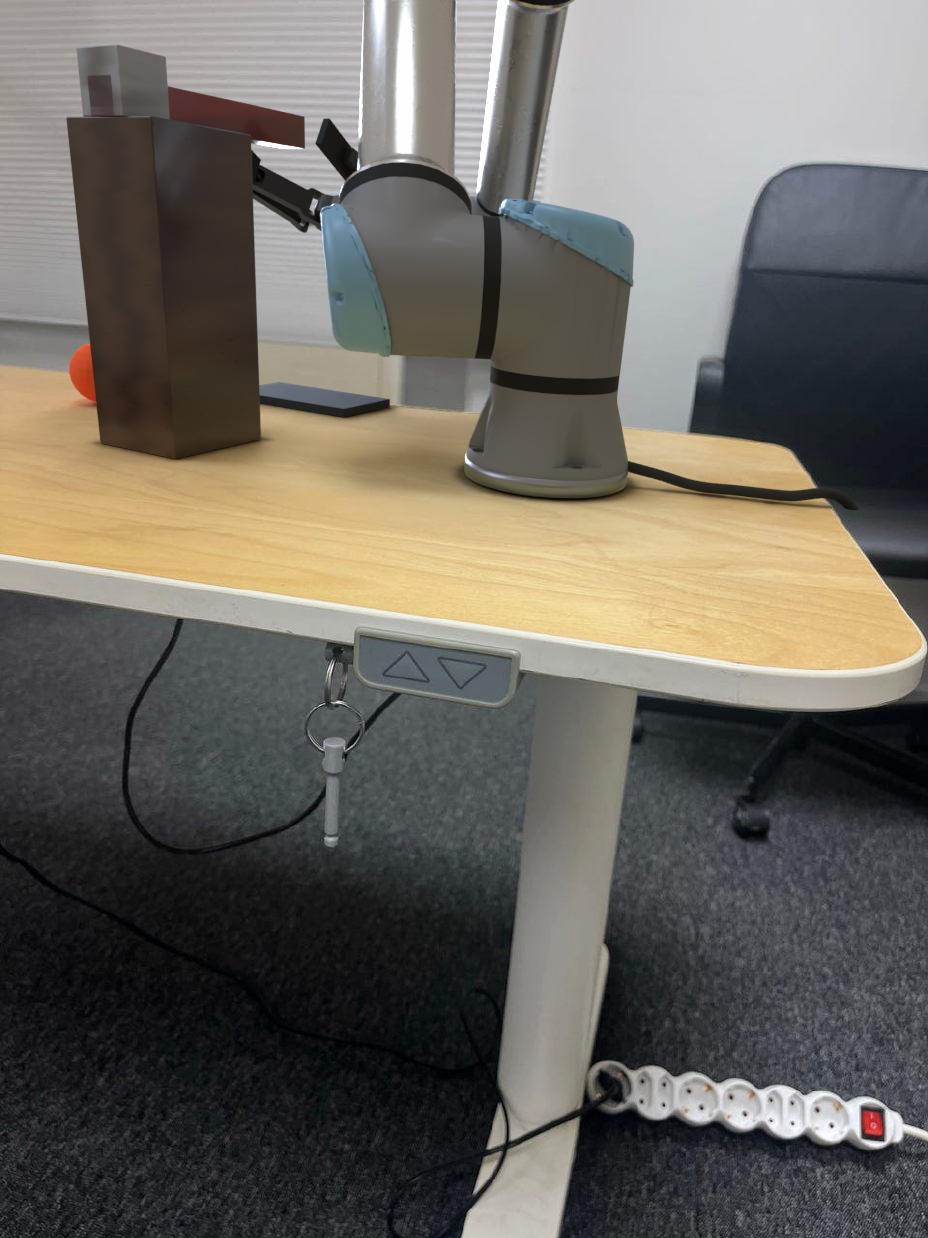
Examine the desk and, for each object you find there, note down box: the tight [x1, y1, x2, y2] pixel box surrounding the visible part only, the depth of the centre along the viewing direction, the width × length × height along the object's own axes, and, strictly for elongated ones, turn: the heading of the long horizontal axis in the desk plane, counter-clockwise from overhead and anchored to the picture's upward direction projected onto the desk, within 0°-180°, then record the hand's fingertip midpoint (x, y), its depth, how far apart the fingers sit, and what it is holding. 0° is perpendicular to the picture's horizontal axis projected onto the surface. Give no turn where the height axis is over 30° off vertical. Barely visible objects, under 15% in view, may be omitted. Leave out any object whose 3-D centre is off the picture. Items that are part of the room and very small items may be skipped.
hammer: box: [75, 44, 306, 150], centre depth 82 cm, size 5×24×5 cm, turn 149°
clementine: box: [68, 342, 96, 403], centre depth 104 cm, size 8×7×7 cm
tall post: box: [65, 116, 262, 460], centre depth 84 cm, size 10×12×28 cm
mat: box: [259, 381, 391, 418], centre depth 114 cm, size 18×10×1 cm, turn 61°
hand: (267, 130), depth 90 cm, fingers open, 13 cm apart
